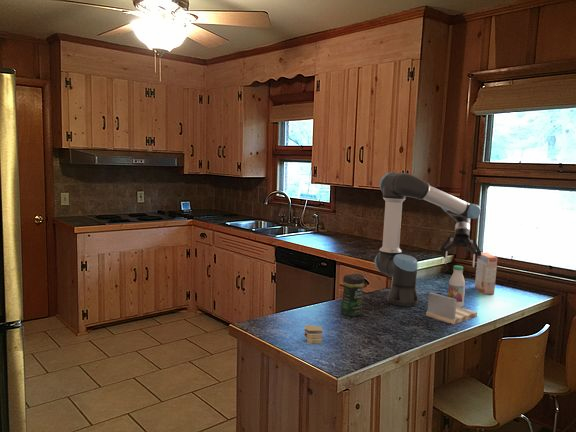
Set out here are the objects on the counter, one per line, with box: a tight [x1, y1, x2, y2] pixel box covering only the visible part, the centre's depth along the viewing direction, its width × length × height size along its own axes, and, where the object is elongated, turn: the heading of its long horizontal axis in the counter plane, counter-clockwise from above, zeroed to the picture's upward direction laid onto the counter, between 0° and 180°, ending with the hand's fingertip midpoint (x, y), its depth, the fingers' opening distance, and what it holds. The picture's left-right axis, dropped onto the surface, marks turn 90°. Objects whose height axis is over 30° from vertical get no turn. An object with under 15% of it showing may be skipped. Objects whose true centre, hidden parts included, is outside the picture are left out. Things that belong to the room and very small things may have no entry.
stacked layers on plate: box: [303, 324, 324, 345], centre depth 180 cm, size 10×9×6 cm
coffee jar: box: [340, 273, 365, 317], centre depth 213 cm, size 10×8×19 cm
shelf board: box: [425, 306, 478, 325], centre depth 217 cm, size 20×14×2 cm
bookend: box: [427, 291, 457, 320], centre depth 211 cm, size 2×13×9 cm, turn 40°
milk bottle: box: [447, 264, 466, 308], centre depth 234 cm, size 8×8×20 cm
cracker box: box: [474, 252, 499, 295], centre depth 264 cm, size 14×6×21 cm, turn 179°
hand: (459, 264), depth 242 cm, fingers open, 13 cm apart
